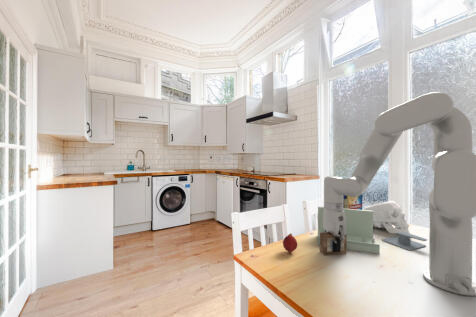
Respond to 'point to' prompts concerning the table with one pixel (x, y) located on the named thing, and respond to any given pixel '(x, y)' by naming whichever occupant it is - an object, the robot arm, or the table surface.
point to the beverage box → (352, 202)
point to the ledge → (355, 229)
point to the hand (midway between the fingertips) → (333, 249)
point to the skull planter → (389, 217)
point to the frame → (331, 244)
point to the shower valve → (405, 241)
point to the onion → (290, 243)
